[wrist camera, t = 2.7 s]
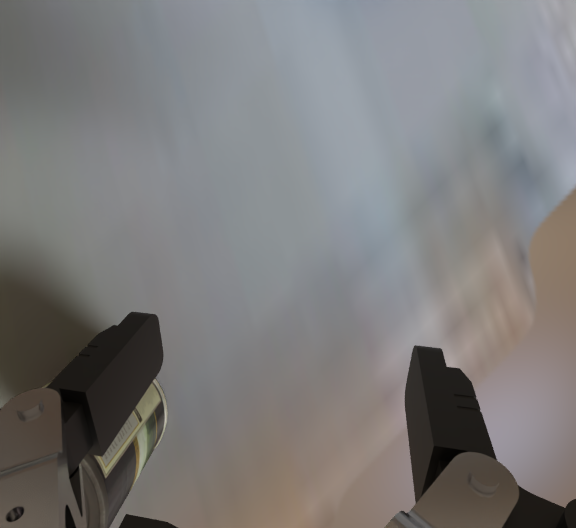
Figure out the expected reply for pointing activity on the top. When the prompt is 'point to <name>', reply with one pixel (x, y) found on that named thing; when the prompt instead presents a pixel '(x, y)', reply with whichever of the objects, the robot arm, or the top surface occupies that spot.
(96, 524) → the coffee can
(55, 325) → the top surface
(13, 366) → the top surface
